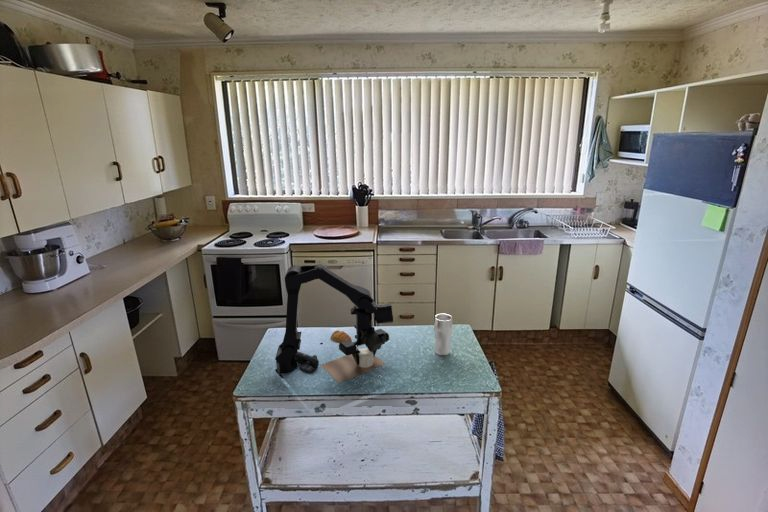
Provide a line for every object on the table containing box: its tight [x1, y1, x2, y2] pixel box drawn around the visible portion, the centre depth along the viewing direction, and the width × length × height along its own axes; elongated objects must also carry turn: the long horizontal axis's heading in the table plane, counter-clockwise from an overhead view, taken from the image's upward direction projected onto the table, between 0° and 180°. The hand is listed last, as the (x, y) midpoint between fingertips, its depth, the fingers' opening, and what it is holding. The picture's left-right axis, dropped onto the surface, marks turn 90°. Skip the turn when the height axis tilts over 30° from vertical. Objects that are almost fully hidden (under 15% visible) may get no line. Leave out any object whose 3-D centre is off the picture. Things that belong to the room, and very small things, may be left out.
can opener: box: [295, 350, 320, 374], centre depth 146 cm, size 18×7×6 cm, turn 50°
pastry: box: [330, 329, 353, 343], centre depth 163 cm, size 9×7×4 cm
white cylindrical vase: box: [433, 313, 453, 357], centre depth 152 cm, size 7×7×15 cm
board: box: [320, 354, 387, 384], centre depth 145 cm, size 20×14×1 cm
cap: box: [358, 347, 374, 368], centre depth 144 cm, size 6×6×4 cm
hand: (365, 361), depth 145 cm, fingers closed on cap, 6 cm apart
